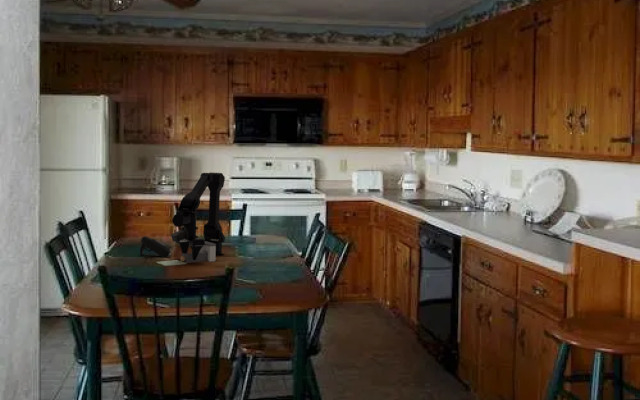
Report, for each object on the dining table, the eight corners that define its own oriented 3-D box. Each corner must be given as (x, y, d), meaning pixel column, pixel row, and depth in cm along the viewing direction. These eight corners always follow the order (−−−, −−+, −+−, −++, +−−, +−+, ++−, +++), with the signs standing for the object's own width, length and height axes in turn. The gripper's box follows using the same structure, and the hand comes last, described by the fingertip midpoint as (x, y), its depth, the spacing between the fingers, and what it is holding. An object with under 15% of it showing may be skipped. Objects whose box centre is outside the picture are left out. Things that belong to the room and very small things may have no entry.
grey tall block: (207, 259, 329) (207, 251, 329) (212, 260, 326) (212, 252, 326) (179, 262, 319) (179, 254, 318) (184, 264, 316) (184, 255, 315)
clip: (205, 258, 331) (206, 241, 330) (215, 261, 324) (215, 243, 323) (200, 258, 329) (200, 241, 328) (209, 261, 322) (209, 244, 321)
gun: (162, 269, 330) (172, 251, 328) (134, 251, 332) (143, 233, 330) (165, 268, 332) (174, 250, 331) (137, 250, 335) (146, 232, 333)
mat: (176, 260, 321) (176, 260, 321) (186, 264, 314) (186, 263, 314) (156, 262, 315) (156, 261, 315) (165, 266, 308) (165, 265, 308)
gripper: (164, 223, 321) (163, 257, 322) (183, 228, 306) (183, 263, 308) (186, 222, 328) (185, 255, 329) (206, 226, 313) (205, 261, 315)
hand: (189, 258), depth 320 cm, fingers open, 9 cm apart
